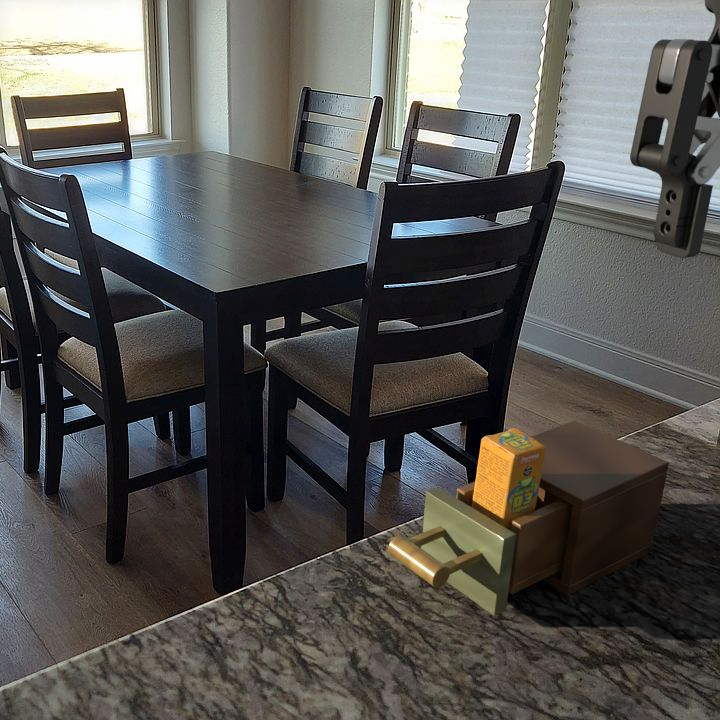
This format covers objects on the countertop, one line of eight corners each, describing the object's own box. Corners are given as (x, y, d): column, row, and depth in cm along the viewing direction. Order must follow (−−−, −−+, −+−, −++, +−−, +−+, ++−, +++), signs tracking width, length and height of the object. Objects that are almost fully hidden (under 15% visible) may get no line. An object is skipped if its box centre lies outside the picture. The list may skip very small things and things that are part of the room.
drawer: (443, 642, 57) (451, 563, 54) (371, 584, 62) (375, 510, 60) (578, 573, 63) (590, 500, 61) (501, 527, 69) (510, 458, 67)
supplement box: (497, 577, 61) (512, 455, 57) (463, 553, 64) (476, 434, 60) (530, 564, 63) (548, 443, 59) (497, 540, 66) (511, 424, 62)
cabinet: (567, 596, 62) (583, 500, 59) (479, 539, 69) (489, 451, 66) (651, 552, 67) (669, 462, 64) (561, 503, 74) (574, 420, 71)
